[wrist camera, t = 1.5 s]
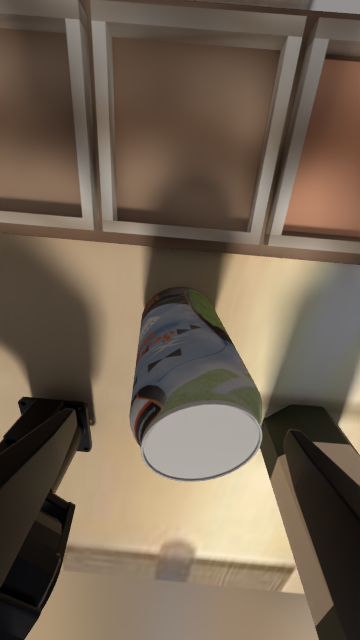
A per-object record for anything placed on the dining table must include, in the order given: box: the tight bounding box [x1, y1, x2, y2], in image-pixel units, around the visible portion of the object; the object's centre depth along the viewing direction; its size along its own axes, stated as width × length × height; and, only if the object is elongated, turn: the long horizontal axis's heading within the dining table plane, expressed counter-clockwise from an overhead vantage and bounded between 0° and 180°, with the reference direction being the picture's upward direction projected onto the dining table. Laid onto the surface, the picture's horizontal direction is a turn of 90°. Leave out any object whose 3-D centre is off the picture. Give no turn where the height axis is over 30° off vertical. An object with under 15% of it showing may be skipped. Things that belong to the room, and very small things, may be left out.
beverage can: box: [130, 287, 262, 482], centre depth 14 cm, size 6×7×12 cm
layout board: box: [0, 0, 360, 265], centre depth 14 cm, size 12×33×2 cm, turn 85°
